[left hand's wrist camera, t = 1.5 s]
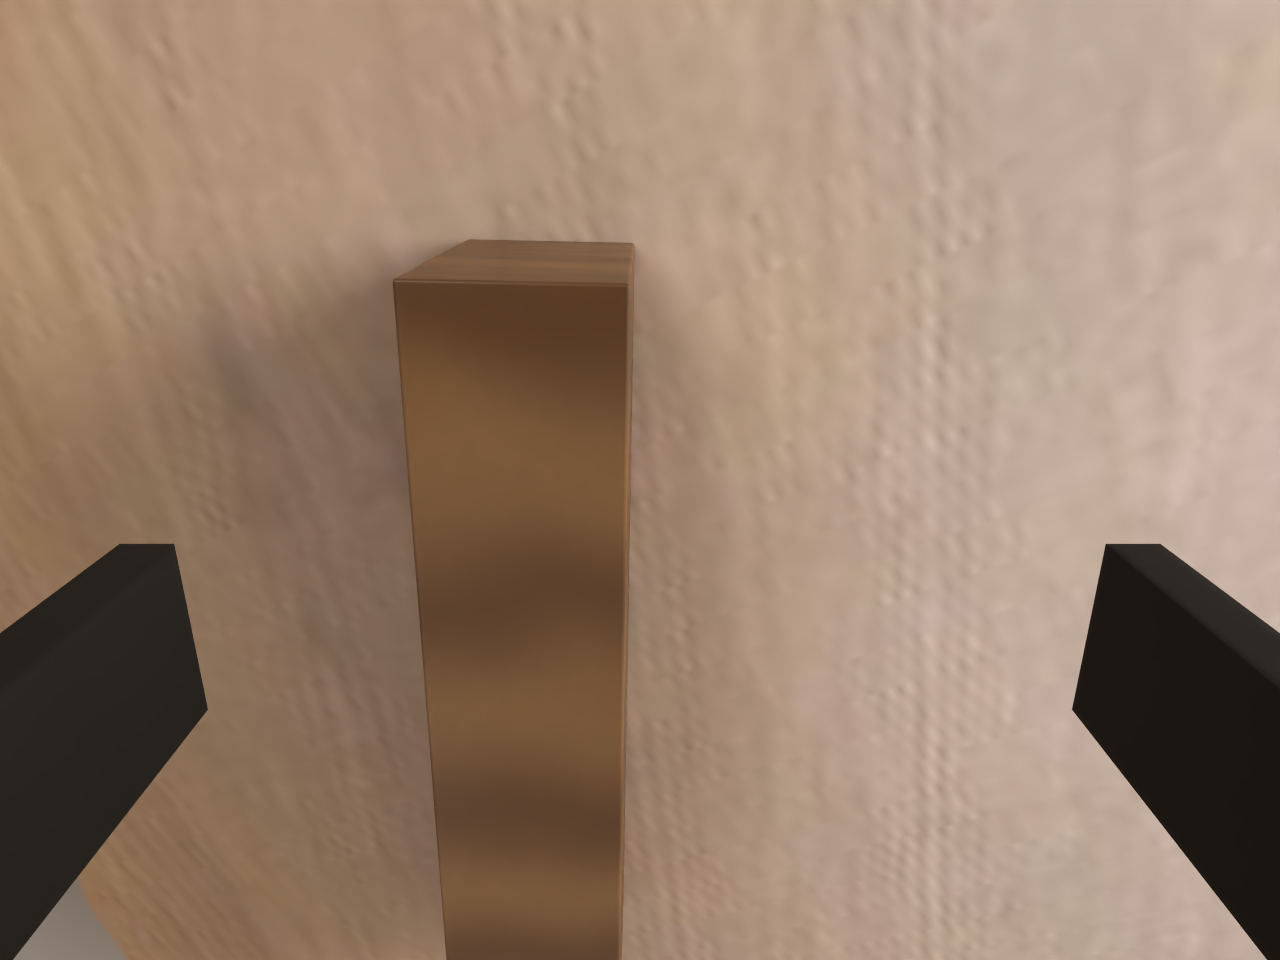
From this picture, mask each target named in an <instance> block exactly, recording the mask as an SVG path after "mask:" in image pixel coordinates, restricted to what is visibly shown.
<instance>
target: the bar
mask: <svg viewBox="0 0 1280 960" xmlns="http://www.w3.org/2000/svg"><path fill="white" fill-rule="evenodd" d="M634 248H635V246H634V244H633V243H605V242H558V241H510V240H467V241H466V242H464V243H462V244H460V245H458V246H456V247H454V248H452V249H450V250H449V251H447V252H445V253H443V254H441V255H439V256H437V257H435V258H433V259H432V260H430V261H428V262H426V263H424V264H422V265H420V266H418V267H416V268H415V269H413V270H411V271H409V272H407V273H405V274H403V275H401V276H399V277H398V278H396V279H394V280H393V292H394V304H395V317H396V329H397V342H398V355H399V367H400V380H401V392H402V405H403V417H404V430H405V443H406V455H407V468H408V480H409V493H410V505H411V518H412V531H413V543H414V556H415V568H416V581H417V593H418V606H419V619H420V631H421V644H422V656H423V669H424V682H425V694H426V707H427V719H428V732H429V744H430V757H431V770H432V782H433V795H434V807H435V820H436V832H437V845H438V858H439V870H440V883H441V895H442V908H443V920H444V933H445V946H446V958H447V960H622V929H623V885H624V827H625V769H626V711H627V653H628V595H629V538H630V480H631V422H632V364H633V306H634Z"/></svg>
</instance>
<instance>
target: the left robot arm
mask: <svg viewBox="0 0 1280 960" xmlns="http://www.w3.org/2000/svg"><path fill="white" fill-rule="evenodd" d="M207 710H208V708H207V703H206V698H205V693H204V688H203V683H202V678H201V674H200V669H199V664H198V659H197V654H196V649H195V644H194V639H193V634H192V629H191V624H190V620H189V615H188V610H187V605H186V600H185V595H184V590H183V585H182V580H181V575H180V570H179V566H178V561H177V556H176V551H175V546H174V544H119V545H118V546H116V547H115V548H114V549H112V550H111V551H110V552H108V553H107V554H106V555H104V556H103V557H102V558H100V559H99V560H98V561H96V562H95V563H94V564H92V565H91V566H90V567H88V568H87V569H86V570H84V571H83V572H82V573H80V574H79V575H78V576H76V577H75V578H74V579H72V580H71V581H70V582H68V583H67V584H66V585H64V586H63V587H62V588H60V589H59V590H58V591H56V592H55V593H54V594H52V595H51V596H50V597H48V598H47V599H45V600H44V601H43V602H41V603H40V604H39V605H37V606H36V607H35V608H33V609H32V610H31V611H29V612H28V613H27V614H25V615H24V616H23V617H21V618H20V619H19V620H17V621H16V622H15V623H13V624H12V625H11V626H9V627H8V628H7V629H5V630H4V631H3V632H1V633H0V960H13V959H14V958H15V956H16V955H17V954H18V952H19V951H20V950H21V949H22V947H23V946H24V945H25V943H26V942H27V941H28V940H29V938H30V937H31V936H32V935H33V933H34V932H35V931H36V929H37V928H38V927H39V926H40V924H41V923H42V922H43V920H44V919H45V918H46V917H47V915H48V914H49V913H50V911H51V910H52V909H53V908H54V906H55V905H56V904H57V902H58V901H59V900H60V899H61V897H62V896H63V895H64V893H65V892H66V891H67V890H68V888H69V887H70V886H71V884H72V883H73V882H74V881H75V879H76V878H77V877H78V876H79V874H80V873H81V872H82V870H83V869H84V868H85V867H86V865H87V864H88V863H89V861H90V860H91V859H92V858H93V856H94V855H95V854H96V852H97V851H98V850H99V849H100V847H101V846H102V845H103V843H104V842H105V841H106V840H107V838H108V837H109V836H110V834H111V833H112V832H113V831H114V829H115V828H116V827H117V825H118V824H119V823H120V822H121V820H122V819H123V818H124V816H125V815H126V814H127V813H128V811H129V810H130V809H131V807H132V806H133V805H134V804H135V802H136V801H137V800H138V799H139V797H140V796H141V795H142V793H143V792H144V791H145V790H146V788H147V787H148V786H149V784H150V783H151V782H152V781H153V779H154V778H155V777H156V775H157V774H158V773H159V772H160V770H161V769H162V768H163V766H164V765H165V764H166V763H167V761H168V760H169V759H170V757H171V756H172V755H173V754H174V752H175V751H176V750H177V748H178V747H179V746H180V745H181V743H182V742H183V741H184V739H185V738H186V737H187V736H188V734H189V733H190V732H191V730H192V729H193V728H194V727H195V725H196V724H197V723H198V722H199V720H200V719H201V718H202V716H203V715H204V714H205V713H206V711H207ZM1072 710H1073V711H1074V713H1075V714H1076V715H1077V716H1078V718H1079V719H1080V720H1081V722H1082V723H1083V724H1084V725H1085V727H1086V728H1087V729H1088V730H1089V732H1090V733H1091V734H1092V736H1093V737H1094V738H1095V739H1096V741H1097V742H1098V743H1099V745H1100V746H1101V747H1102V748H1103V750H1104V751H1105V752H1106V754H1107V755H1108V756H1109V757H1110V759H1111V760H1112V761H1113V763H1114V764H1115V765H1116V766H1117V768H1118V769H1119V770H1120V772H1121V773H1122V774H1123V775H1124V777H1125V778H1126V779H1127V781H1128V782H1129V783H1130V784H1131V786H1132V787H1133V788H1134V790H1135V791H1136V792H1137V793H1138V795H1139V796H1140V797H1141V799H1142V800H1143V801H1144V802H1145V804H1146V805H1147V806H1148V807H1149V809H1150V810H1151V811H1152V813H1153V814H1154V815H1155V816H1156V818H1157V819H1158V820H1159V822H1160V823H1161V824H1162V825H1163V827H1164V828H1165V829H1166V831H1167V832H1168V833H1169V834H1170V836H1171V837H1172V838H1173V840H1174V841H1175V842H1176V843H1177V845H1178V846H1179V847H1180V849H1181V850H1182V851H1183V852H1184V854H1185V855H1186V856H1187V858H1188V859H1189V860H1190V861H1191V863H1192V864H1193V865H1194V867H1195V868H1196V869H1197V870H1198V872H1199V873H1200V874H1201V876H1202V877H1203V878H1204V879H1205V881H1206V882H1207V883H1208V884H1209V886H1210V887H1211V888H1212V890H1213V891H1214V892H1215V893H1216V895H1217V896H1218V897H1219V899H1220V900H1221V901H1222V902H1223V904H1224V905H1225V906H1226V908H1227V909H1228V910H1229V911H1230V913H1231V914H1232V915H1233V917H1234V918H1235V919H1236V920H1237V922H1238V923H1239V924H1240V926H1241V927H1242V928H1243V929H1244V931H1245V932H1246V933H1247V935H1248V936H1249V937H1250V938H1251V940H1252V941H1253V942H1254V944H1255V945H1256V946H1257V947H1258V949H1259V950H1260V951H1261V953H1262V954H1263V955H1264V956H1265V958H1266V959H1267V960H1280V633H1279V632H1277V631H1276V630H1275V629H1273V628H1272V627H1271V626H1269V625H1268V624H1267V623H1265V622H1264V621H1263V620H1261V619H1260V618H1259V617H1257V616H1256V615H1255V614H1253V613H1252V612H1251V611H1249V610H1248V609H1247V608H1245V607H1244V606H1243V605H1241V604H1240V603H1239V602H1237V601H1236V600H1235V599H1233V598H1232V597H1230V596H1229V595H1228V594H1226V593H1225V592H1224V591H1222V590H1221V589H1220V588H1218V587H1217V586H1216V585H1214V584H1213V583H1212V582H1210V581H1209V580H1208V579H1206V578H1205V577H1204V576H1202V575H1201V574H1200V573H1198V572H1197V571H1196V570H1194V569H1193V568H1192V567H1190V566H1189V565H1188V564H1186V563H1185V562H1184V561H1182V560H1181V559H1180V558H1178V557H1177V556H1176V555H1174V554H1173V553H1172V552H1170V551H1169V550H1168V549H1166V548H1165V547H1164V546H1162V545H1161V544H1106V546H1105V551H1104V556H1103V561H1102V566H1101V570H1100V575H1099V580H1098V585H1097V590H1096V595H1095V600H1094V605H1093V610H1092V615H1091V620H1090V624H1089V629H1088V634H1087V639H1086V644H1085V649H1084V654H1083V659H1082V664H1081V669H1080V674H1079V678H1078V683H1077V688H1076V693H1075V698H1074V703H1073V708H1072Z"/></svg>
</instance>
